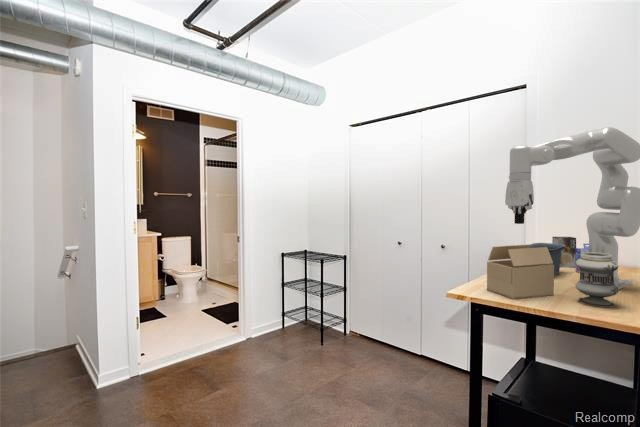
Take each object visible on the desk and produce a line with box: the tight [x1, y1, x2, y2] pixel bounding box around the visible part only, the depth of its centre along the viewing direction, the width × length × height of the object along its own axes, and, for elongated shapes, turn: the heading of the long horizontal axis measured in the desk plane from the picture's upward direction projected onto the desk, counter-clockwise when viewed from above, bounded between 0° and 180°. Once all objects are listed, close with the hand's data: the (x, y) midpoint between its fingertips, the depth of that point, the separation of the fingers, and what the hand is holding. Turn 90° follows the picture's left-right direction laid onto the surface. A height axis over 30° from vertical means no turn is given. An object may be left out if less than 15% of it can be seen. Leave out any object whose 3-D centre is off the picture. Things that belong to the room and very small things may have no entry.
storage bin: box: [529, 242, 565, 275], centre depth 169 cm, size 21×16×14 cm
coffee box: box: [551, 236, 577, 268], centre depth 185 cm, size 9×6×16 cm
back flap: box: [487, 244, 530, 261], centre depth 142 cm, size 18×7×1 cm
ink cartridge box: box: [575, 243, 589, 274], centre depth 169 cm, size 10×6×14 cm, turn 78°
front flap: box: [508, 247, 553, 266], centre depth 131 cm, size 18×7×1 cm
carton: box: [486, 259, 555, 300], centre depth 137 cm, size 20×14×12 cm
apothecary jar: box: [575, 252, 620, 308], centre depth 122 cm, size 12×12×18 cm
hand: (519, 223), depth 136 cm, fingers closed
